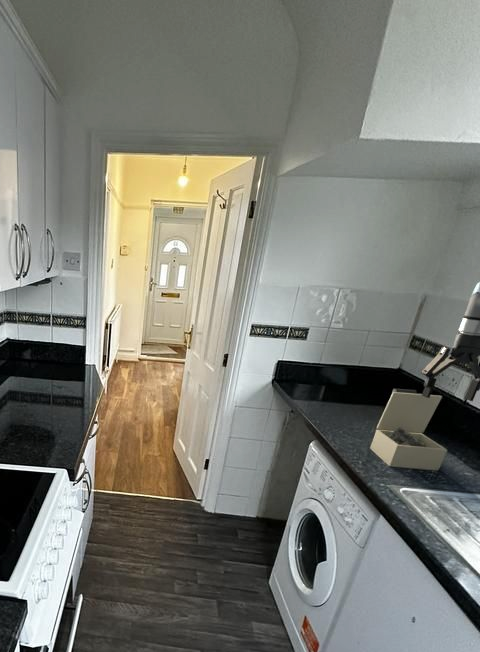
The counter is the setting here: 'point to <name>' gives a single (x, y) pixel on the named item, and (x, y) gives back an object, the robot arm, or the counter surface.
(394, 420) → the box lid
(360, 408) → the counter surface
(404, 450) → the beige open box
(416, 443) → the egg carton
